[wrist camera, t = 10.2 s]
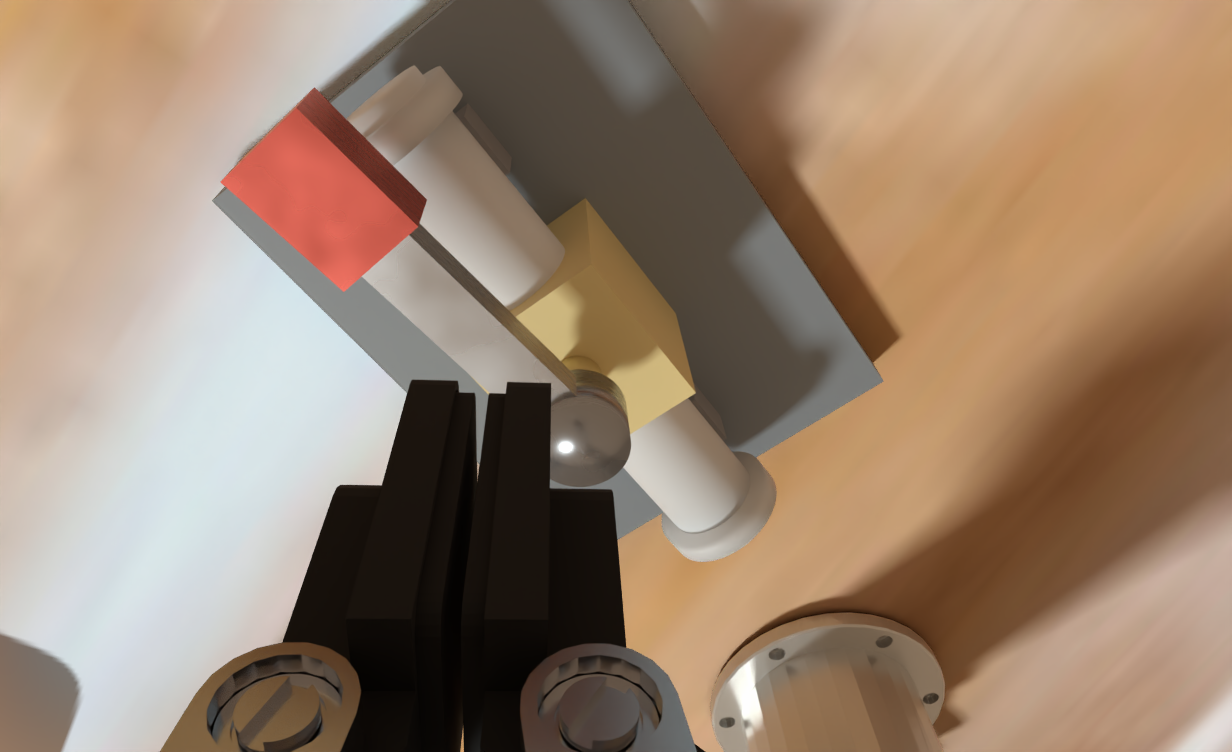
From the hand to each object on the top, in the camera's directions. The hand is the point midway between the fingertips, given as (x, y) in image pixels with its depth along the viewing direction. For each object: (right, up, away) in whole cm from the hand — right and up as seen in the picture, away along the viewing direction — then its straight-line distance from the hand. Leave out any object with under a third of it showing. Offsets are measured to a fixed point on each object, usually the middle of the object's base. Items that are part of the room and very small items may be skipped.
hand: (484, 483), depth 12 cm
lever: (-3, +4, +16) cm, 16 cm away
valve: (0, +5, +26) cm, 27 cm away
